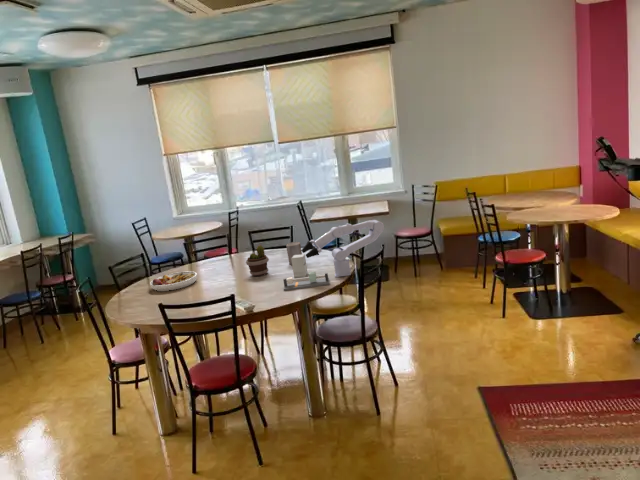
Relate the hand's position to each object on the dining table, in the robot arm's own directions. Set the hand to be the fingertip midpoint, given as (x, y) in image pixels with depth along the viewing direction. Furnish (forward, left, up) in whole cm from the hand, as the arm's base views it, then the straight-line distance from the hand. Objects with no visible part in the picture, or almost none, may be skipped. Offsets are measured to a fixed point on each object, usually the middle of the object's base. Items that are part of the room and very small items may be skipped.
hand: (304, 254), depth 300 cm
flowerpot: (+33, -31, -17) cm, 48 cm away
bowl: (+90, -33, -17) cm, 98 cm away
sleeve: (-3, +7, -15) cm, 16 cm away
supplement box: (+5, -15, -17) cm, 23 cm away
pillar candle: (+10, -48, -17) cm, 52 cm away
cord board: (+1, +7, -17) cm, 18 cm away
